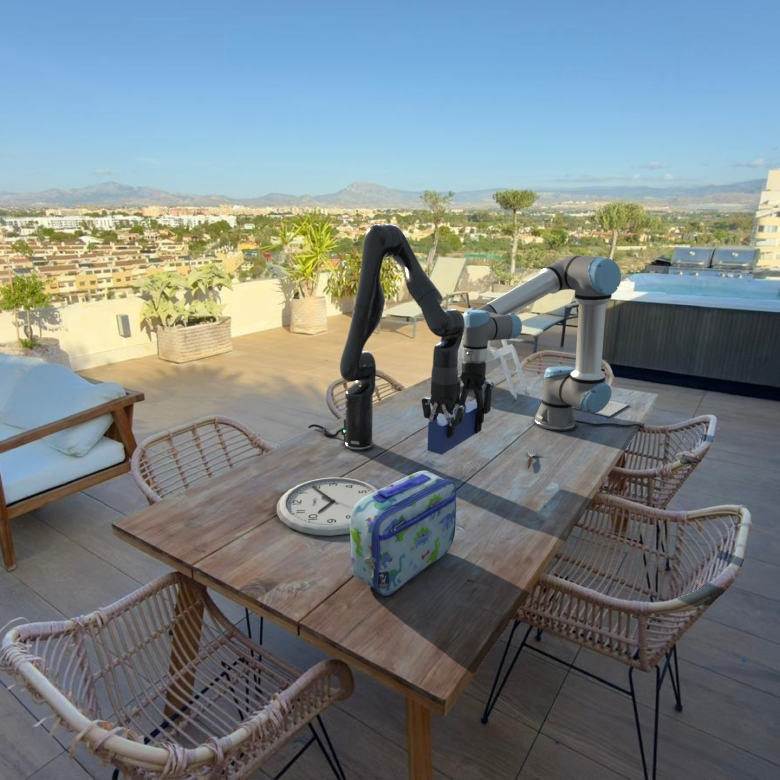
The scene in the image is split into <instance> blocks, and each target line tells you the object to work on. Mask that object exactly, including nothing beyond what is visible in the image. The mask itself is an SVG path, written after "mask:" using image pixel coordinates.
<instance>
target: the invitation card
mask: <svg viewBox="0 0 780 780" xmlns="http://www.w3.org/2000/svg"><path fill="white" fill-rule="evenodd" d="M628 406H629V404H627V403H623V402H618V401H614V400H611V399H610V400H609V402H608V404H607V405H606V406H605V407H604V408H603V409H602V410H601V411H599V412H597V413H595V414H596V415H600V416H604V417H608V418H609V417H611V416H613V415H614V414H616V413H617V412H619V411H621V410H623V409H624V408H626V407H628ZM573 409H575V410H579V409H578V408H576V407H573Z"/></svg>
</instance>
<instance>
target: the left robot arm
mask: <svg viewBox="0 0 780 780" xmlns="http://www.w3.org/2000/svg"><path fill="white" fill-rule="evenodd" d="M385 258H392V259H393V260H394V261H395V262H396V263H397V264H398V265H399V267H400V269H401V270H402V273H403V277H404V282H405V286H406V289H407V291H408V293H409V295H410V296H411V297H412V299H413V301H414V303H416V305H417V306H418V307H419V308H420V311H421V313H422V315H423V318H424V321H425V323H426V326H427V328H428V330H430V332H431V333H432V334H433V335H435V336H436V337H439V338H440V341H438V343H436V344H435V345H434V347H433V350H432V366H431V367H432V368H431V373H430V374H431V377H430V396H429V397H428V396H426V397H424V398H422V399H421V406H422V412H423V417H424V419H427V420H428V422H430V421H432V420H434V419H436V418H438V417H439V414H442V415H445V419H447V422H448V427H447V438H451V437H452V436H453V435H454V430H455V426H457V425H459V424H461V422H462V419H463V415H464V412H465V408H466V407H465V406H464V405H463V406H460V405H458V404H457V401H456V396H457V381H458V368H457V364H458V350H459V347H460V344H461V340H462V339H463V333H464V327H465V322H464V317H463V313H462V312H461V311H460V310H458V309H455V308H451V309H445V310H444V308H442V303H443V300H444V298H443V295H442V293H441V292H440V290H439V289H438V288H437V286H436V285H435V284H434V282H433V281H432V279H431V278H430V277H429V276H428V274H427V273H426V271H425V270H424V269H423V267H422V265H421V263H420V261H419V259H418V258H417V255H416V254H415V252H414V251H413V249H412V246H411V245H410V242H409V240H408V239H407V237H406V235H405V234H404V232H403V230H402V229H401V228H400V227H399V226H398V225H395V224H373V225H371V226H369V227H368V228H367V230H366V231H365V234H364V237H363V243H362V252H361V263H360V273H359V278H358V286H357V290H356V294H355V298H354V303H353V308H352V315H351V321H350V325H349V329H348V333H347V338H346V341H345V345H344V347H343V351H342V353H341V357H340V361H339V371H340V375H341V378H342V379H343V380H344V381H346V382H349V383H351V382H353V383H352V385H351V386H349V387H348V388H347V389H346V390H345V392H344V393H345V394H344V395H345V396H344V397H345V401H344V402H345V417H344V418H343V427H341V428H340V429H338V430H336V432H335V433H328V432H327V429H326V428H325V427H324V426H322V425H320V424H315V423H313V424H309V425H308V426H307V429H311V428H313V427H314V428H319V429H321V430H322V435H323V436H326V437H330V438H333V437H334V438H335V437H337V436H339V434H340V433H341V436H343V445H345V448H347V449H348V450H350V451H356V452H359V451H367V450H370V449H372V447H373V444H374V443H373V417H374V415H373V413H374V409H373V408H374V407H373V406H374V402H373V401H374V399H373V398H374V393H375V389H376V378H377V377H376V376H377V366H376V365H377V363H376V359H375V357H374V355H373V354H372V353H371V352H370V351H367V350H364V347H365V346H366V344H367V342H368V341H369V339H370V338H371V336H372V335H373V334H374V332H375V331H376V329H377V328H378V327H379V325H380V323H381V320H382V318H383V314H384V309H385V304H386V296H385V292H384V289H383V284H382V282H381V270H382V265H383V261H384V259H385ZM455 408H456V412H457V413H456V417H454V416H455V414H454V410H453V409H455ZM449 413H450V415H449Z"/></svg>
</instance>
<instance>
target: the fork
mask: <svg viewBox="0 0 780 780" xmlns="http://www.w3.org/2000/svg"><path fill="white" fill-rule="evenodd" d="M533 448H535V449H533ZM533 448H531V447H529V448H528V451H527V456H529V459H528V460H527V469H530V467H531V465H532V463H533V460H532V459H533V457H535V456H537V445H536V447H535V445H534V446H533Z"/></svg>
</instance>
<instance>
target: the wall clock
mask: <svg viewBox="0 0 780 780" xmlns="http://www.w3.org/2000/svg"><path fill="white" fill-rule="evenodd" d="M378 490H380V489H379V488H377V487H376V486H374V485H372V484H371V483H369V482H365V481H362V480H359V479H355V478H349V477H338V476H337V477H335V476H333V477H332V476H331V477H322V478H317V479H312V480H307V481H305V482H302V483H299V484H297V485H295V486H293V487H292V488H290V489H288V490H287V491H286V492H285V493H284V494H283V495H281V496H280V498H279V499H278V502H277V503H276V515H277V517H278V518H279V520H280V521H281V522H282V523H283V524H285V525H286V526H287V527H288V528H290V529H293V530H295V531H297V532H299V533H303V534H308V535H312V536H327V537H328V536H329V537H331V536H332V537H333V536H342V535H350V517H351V513H352V510H353V508H354V506H355V505H356V503H357V502H358V501H359V500H360V499H362V498H364V497H365V496H367V495H370V494H372V493H374V492H376V491H378Z"/></svg>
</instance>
